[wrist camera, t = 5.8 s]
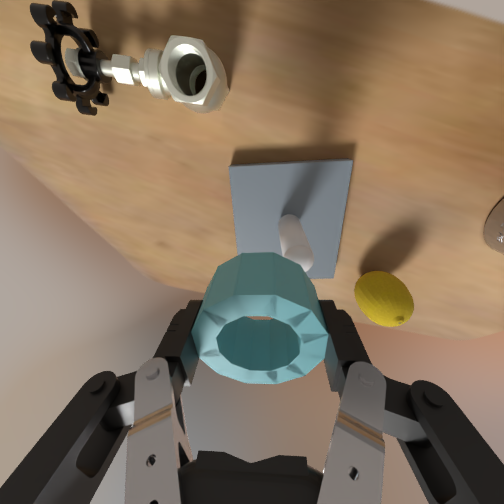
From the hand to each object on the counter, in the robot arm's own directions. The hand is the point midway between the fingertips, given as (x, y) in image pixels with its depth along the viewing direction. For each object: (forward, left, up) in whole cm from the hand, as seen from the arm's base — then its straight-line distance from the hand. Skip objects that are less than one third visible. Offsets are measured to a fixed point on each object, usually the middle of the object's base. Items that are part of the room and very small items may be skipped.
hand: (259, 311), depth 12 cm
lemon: (-14, +9, -15) cm, 23 cm away
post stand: (-3, +1, -15) cm, 15 cm away
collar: (0, 0, -1) cm, 1 cm away
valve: (+8, -13, -15) cm, 22 cm away
